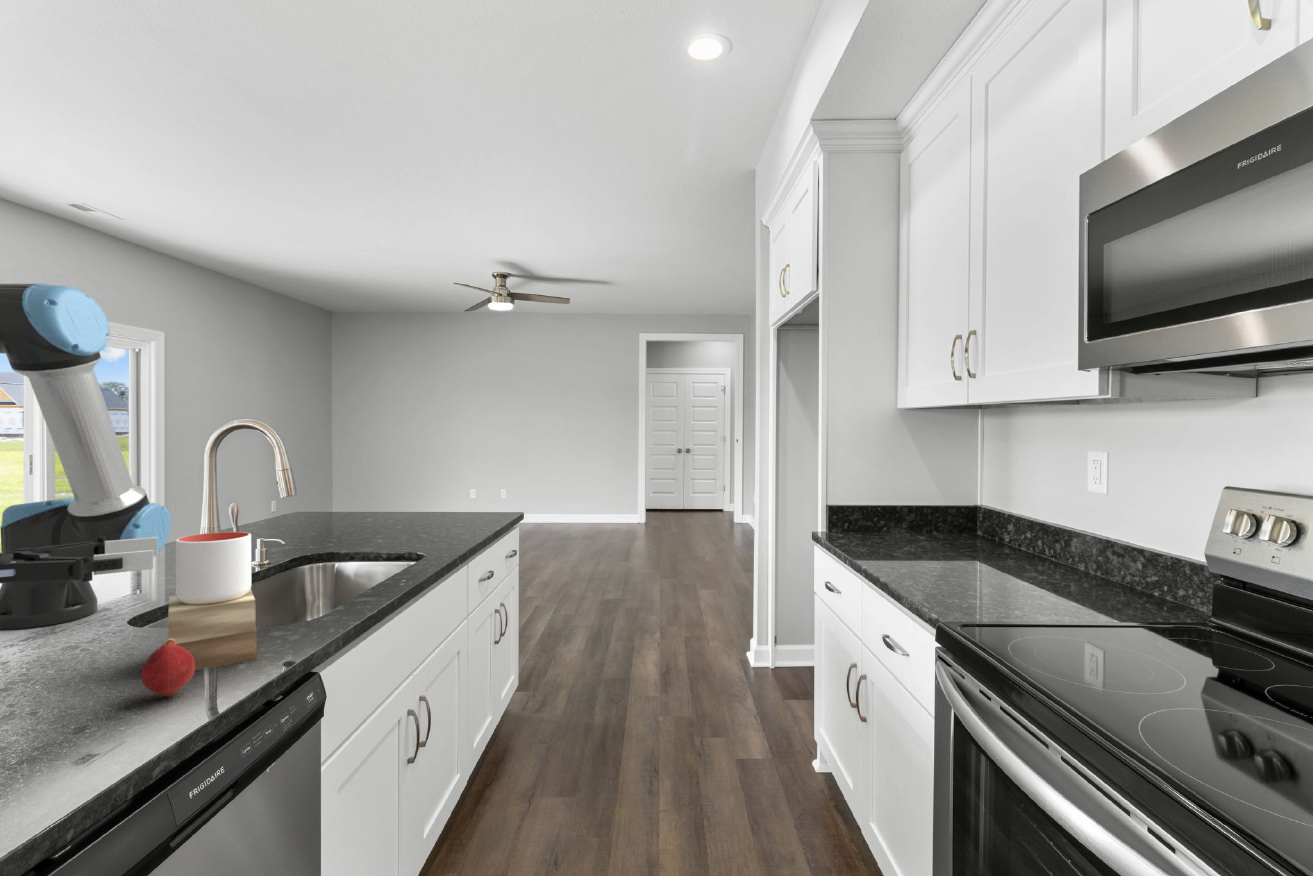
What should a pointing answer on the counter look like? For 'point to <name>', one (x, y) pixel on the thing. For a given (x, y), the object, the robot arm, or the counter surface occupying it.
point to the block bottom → (223, 650)
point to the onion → (168, 669)
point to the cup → (213, 567)
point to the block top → (210, 618)
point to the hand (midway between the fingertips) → (155, 552)
